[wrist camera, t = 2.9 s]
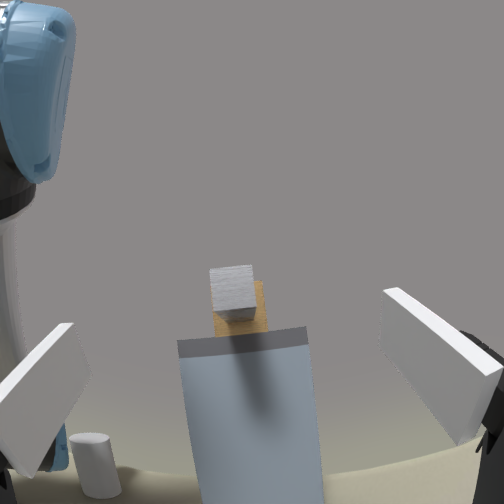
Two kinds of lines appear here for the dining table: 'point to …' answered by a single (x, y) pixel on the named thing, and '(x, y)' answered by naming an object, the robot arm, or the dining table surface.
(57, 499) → the dining table surface
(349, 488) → the dining table surface
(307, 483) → the block
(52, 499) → the dining table surface
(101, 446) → the white cylinder
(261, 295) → the block
